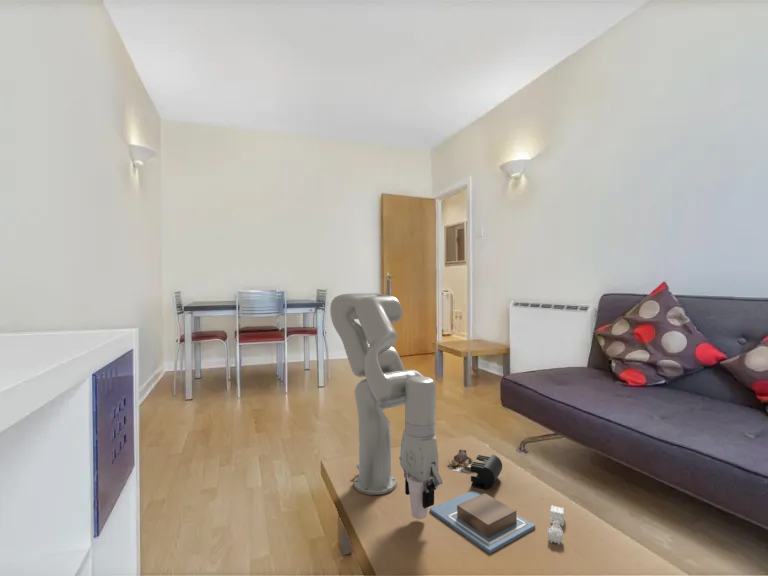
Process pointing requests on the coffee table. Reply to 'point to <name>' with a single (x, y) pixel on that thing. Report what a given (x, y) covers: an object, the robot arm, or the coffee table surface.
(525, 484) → the coffee table surface
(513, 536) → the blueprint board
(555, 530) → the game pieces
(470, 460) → the frog figurine
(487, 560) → the coffee table surface
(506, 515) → the plinth
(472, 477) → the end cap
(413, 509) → the smoothie
